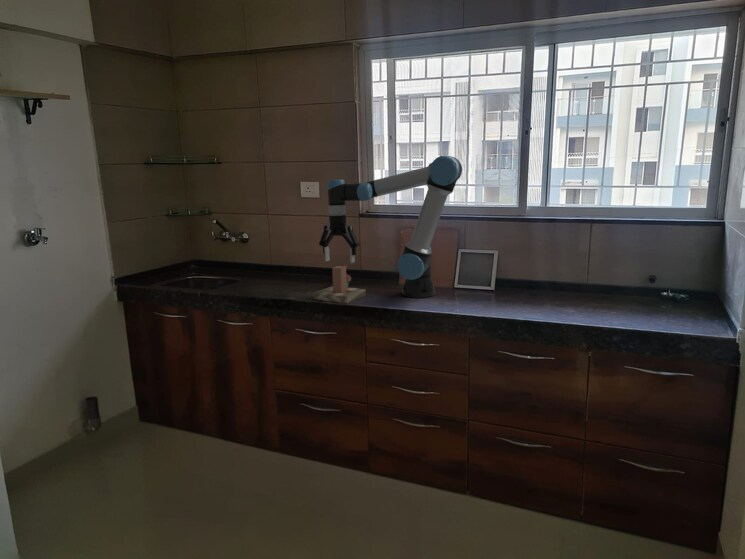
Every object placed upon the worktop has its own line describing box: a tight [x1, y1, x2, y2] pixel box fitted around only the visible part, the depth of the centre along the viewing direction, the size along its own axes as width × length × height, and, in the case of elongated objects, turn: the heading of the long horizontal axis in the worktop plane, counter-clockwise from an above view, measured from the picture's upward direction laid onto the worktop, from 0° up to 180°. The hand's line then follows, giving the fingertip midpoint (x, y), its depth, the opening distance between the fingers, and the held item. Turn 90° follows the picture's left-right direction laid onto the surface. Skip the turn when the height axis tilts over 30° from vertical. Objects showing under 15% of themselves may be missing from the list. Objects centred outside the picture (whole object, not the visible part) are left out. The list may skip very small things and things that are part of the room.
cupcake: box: [344, 264, 352, 288], centre depth 259 cm, size 9×8×12 cm
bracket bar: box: [331, 265, 347, 294], centre depth 239 cm, size 4×4×14 cm
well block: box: [313, 285, 367, 304], centre depth 240 cm, size 18×16×3 cm
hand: (339, 261), depth 237 cm, fingers open, 13 cm apart
